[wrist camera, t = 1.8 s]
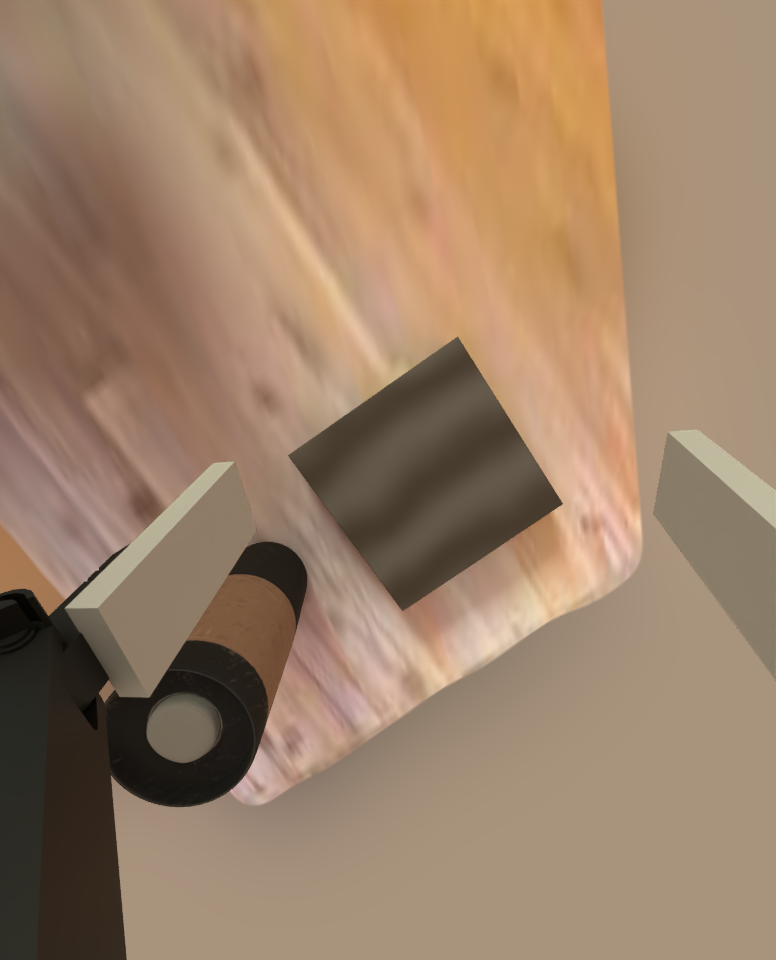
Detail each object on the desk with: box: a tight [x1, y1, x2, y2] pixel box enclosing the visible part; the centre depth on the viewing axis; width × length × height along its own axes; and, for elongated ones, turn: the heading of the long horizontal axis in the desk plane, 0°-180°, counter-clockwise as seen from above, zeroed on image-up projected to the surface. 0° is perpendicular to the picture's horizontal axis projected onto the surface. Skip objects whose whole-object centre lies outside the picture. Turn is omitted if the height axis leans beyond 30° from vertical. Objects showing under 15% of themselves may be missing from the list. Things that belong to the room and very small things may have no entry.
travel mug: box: [105, 542, 307, 807], centre depth 31 cm, size 8×8×20 cm
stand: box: [288, 337, 563, 611], centre depth 38 cm, size 16×16×4 cm
